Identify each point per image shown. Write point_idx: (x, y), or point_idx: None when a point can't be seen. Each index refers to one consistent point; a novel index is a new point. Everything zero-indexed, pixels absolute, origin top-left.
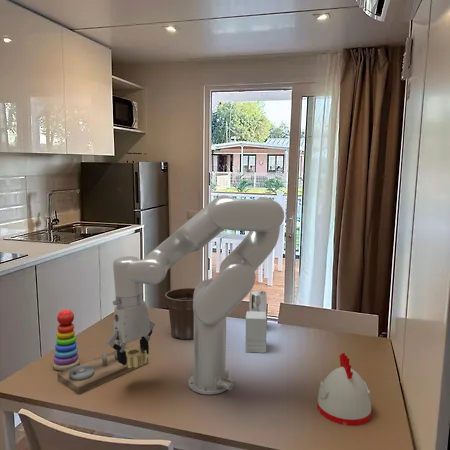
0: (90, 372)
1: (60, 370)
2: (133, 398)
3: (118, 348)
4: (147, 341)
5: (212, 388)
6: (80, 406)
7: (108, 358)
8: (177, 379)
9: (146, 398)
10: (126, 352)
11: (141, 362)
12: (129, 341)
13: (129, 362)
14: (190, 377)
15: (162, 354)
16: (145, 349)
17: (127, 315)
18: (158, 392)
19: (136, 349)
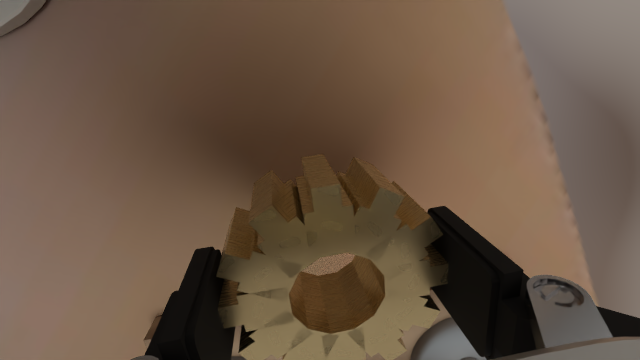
0: (449, 340)
1: None
2: (375, 85)
3: (611, 326)
4: (164, 345)
5: None
6: (550, 178)
7: None
8: (93, 90)
9: (330, 39)
10: (383, 323)
11: (320, 163)
12: (611, 348)
13: (414, 201)
14: (5, 10)
15: (53, 350)
16: (223, 274)
17: None
18: (251, 45)
19: (289, 323)
